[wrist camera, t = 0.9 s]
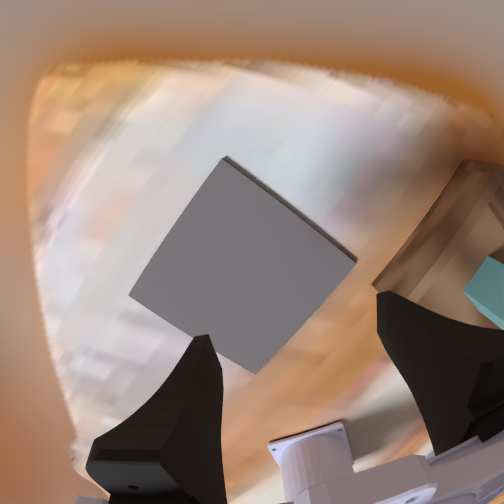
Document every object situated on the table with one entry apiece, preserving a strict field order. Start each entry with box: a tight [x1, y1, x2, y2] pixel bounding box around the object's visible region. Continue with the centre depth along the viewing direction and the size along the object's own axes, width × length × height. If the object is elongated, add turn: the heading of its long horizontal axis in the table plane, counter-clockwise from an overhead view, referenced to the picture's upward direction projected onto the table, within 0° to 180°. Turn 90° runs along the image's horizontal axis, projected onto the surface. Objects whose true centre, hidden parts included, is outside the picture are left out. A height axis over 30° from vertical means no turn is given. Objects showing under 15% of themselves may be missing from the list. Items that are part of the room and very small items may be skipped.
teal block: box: [463, 256, 504, 330], centre depth 21 cm, size 4×4×6 cm
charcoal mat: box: [129, 159, 356, 374], centre depth 23 cm, size 12×12×1 cm
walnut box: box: [372, 160, 504, 330], centre depth 22 cm, size 13×20×4 cm, turn 53°
